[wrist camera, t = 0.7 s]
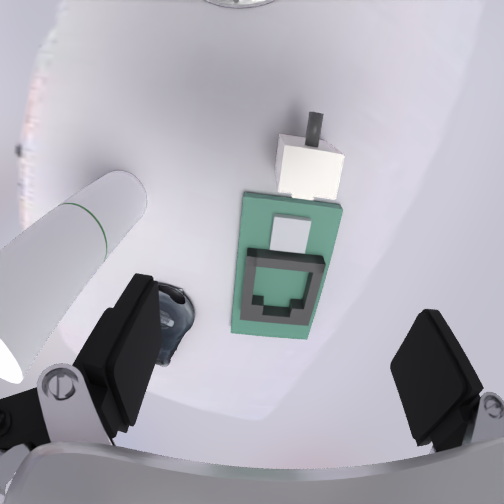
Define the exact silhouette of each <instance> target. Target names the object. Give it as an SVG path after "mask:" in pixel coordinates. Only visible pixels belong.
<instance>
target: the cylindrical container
mask: <svg viewBox="0 0 504 504" xmlns="http://www.w3.org/2000/svg"><path fill="white" fill-rule="evenodd" d="M146 205H147V197H146V193H145V189H144V187H143V185H142V184H141V182H140V181H139V180H138V179H137V178H136V177H135V176H133V175H132V174H130V173H128V172H126V171H120V170H119V171H112V172H109V173H107V174H106V175H104V176H102V177H101V178H99V179H98V180H96V181H94V182H93V183H91V184H90V185H88V186H87V187H85V188H83V189H82V190H80V191H79V192H77V193H76V194H74V195H73V196H71V197H70V198H68V199H67V200H65V201H64V202H63V203H61V204H60V205H58V206H57V207H55V208H54V209H53V210H51V211H50V212H48V213H47V214H46V215H44V216H43V217H42V218H40V219H39V220H38V221H36V222H35V223H34V224H32V225H31V226H30V227H28V228H27V229H26V230H25V231H23V232H22V233H21V234H20V235H18V236H17V237H16V238H15V239H13V240H12V241H11V242H10V243H9V244H7V245H6V246H5V247H4V248H3V249H2V250H1V251H0V377H1V378H3V379H5V380H7V381H9V382H12V383H20V382H21V381H22V380H23V378H24V376H25V374H26V373H27V371H28V369H29V368H30V366H31V365H32V363H33V361H34V360H35V358H36V356H37V355H38V353H39V352H40V350H41V348H42V347H43V345H44V344H45V342H46V341H47V339H48V338H49V336H50V335H51V333H52V332H53V330H54V329H55V327H56V326H57V324H58V323H59V321H60V320H61V319H62V317H63V316H64V314H65V313H66V311H67V310H68V309H69V307H70V306H71V304H72V303H73V302H74V300H75V299H76V298H77V296H78V295H79V294H80V292H81V291H82V289H83V288H84V287H85V286H86V284H87V283H88V282H89V280H90V279H91V278H92V276H93V275H94V274H95V272H96V271H97V270H98V269H99V267H100V266H101V265H102V264H103V262H104V261H105V260H106V259H107V257H108V256H109V255H110V254H111V252H112V251H113V250H114V249H115V247H116V246H117V245H118V244H119V243H120V241H121V240H122V239H123V238H124V237H125V236H126V234H127V233H128V232H129V231H130V230H131V229H132V227H133V226H134V225H135V224H136V223H137V222H138V220H139V219H140V218H141V217H142V216H143V214H144V212H145V209H146Z"/></svg>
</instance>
